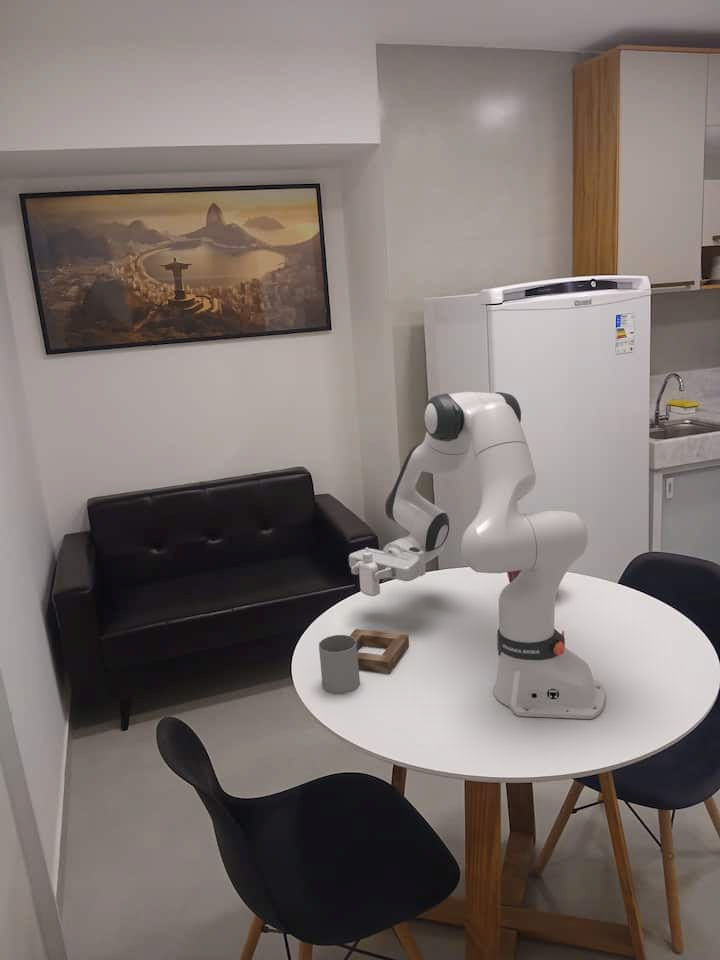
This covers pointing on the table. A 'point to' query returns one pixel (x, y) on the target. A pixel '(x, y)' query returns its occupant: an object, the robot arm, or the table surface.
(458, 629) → the table surface
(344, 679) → the cup
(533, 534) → the robot arm
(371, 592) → the eye dropper bottle
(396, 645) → the socket block
